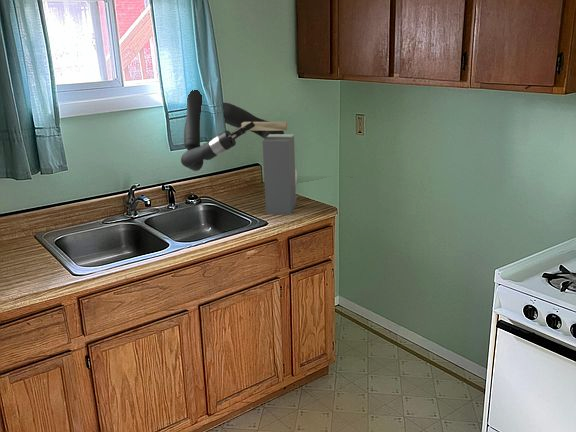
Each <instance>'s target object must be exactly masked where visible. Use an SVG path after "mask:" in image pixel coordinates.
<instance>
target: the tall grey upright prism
mask: <svg viewBox="0 0 576 432" xmlns="http://www.w3.org/2000/svg"><path fill="white" fill-rule="evenodd" d="M295 154H296V153H295V134H293V133H290V134H289V133H284V134H269V135H268V136H267V137H266V138H265V139H264V138H263V140H262V157H263V175H264V176H263V177H264V178H263V179H264V180H263V181H264V197H265V198H264V200H265V215H292V213H293V212H294V211H295V208H296V206H297V200H296V197H297V194H296V193H297V186H296V185H295V168H296V158H295Z"/></svg>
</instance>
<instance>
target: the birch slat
mask: <svg viewBox="0 0 576 432" xmlns="http://www.w3.org/2000/svg"><path fill="white" fill-rule="evenodd" d="M249 123H251V122H243V123H241V126H242V127H243V126H246V125H248V124H249ZM253 123H254V125H255V126H254V127H253V128H251V129H250V130H248V131H247V132H251V131H287V130H288V124H289V123H288V121H269V122H253Z"/></svg>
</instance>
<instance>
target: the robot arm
mask: <svg viewBox="0 0 576 432" xmlns="http://www.w3.org/2000/svg"><path fill="white" fill-rule="evenodd" d="M222 102H223V101H222ZM201 105H202V95H201V94H200V92H199V91H198V90H194V91H193V90H192V91H191V92H190V94H189V95H188V98H187V108H186V119H185V123H184V129H183V130H184V131H183V144H184V145H183V146H184V147H185V149H186V151H185V152H184V153H183V154H182V155H181V157H180V163H181V164H182V165H183V167H185V168H187V169H189V170H192V171H194V172H197V171H201V169H202V168H203V165H204V161H209V160H212V159H214V158H215V157H218V155H221V154H224V153H225V152H226V151H228V150H230V149H231V148H233V147H235V146H236V144H237V141H236V140H239V139H240V138H241V137H242V136H244V135H245V134H247V132H249V131H248V130H250V129H251V128H253V127H254V126H255V125H254V123H253V122H270V121H268V120H265V119H263V118H259V117H257V116H255V115H254V114H252V113H250V112H249V111H247V110H246V109H243V108H241V107H240V106H237V105H235V104H232V103H230V102H225V101H224V102H223V110H224V118H225V122H224V123H225V124H227V125H229V126H231V127H234V128H236V129H233V130H232V131H229V130H227V129H226V130H224V131H222V132H221V133H219V134H217V135H216V136H214V137H213V138H211V139H210V140H209V141H207V142H205V143H204V144H202V145H201V114H202V113H201ZM243 122H251V123H249V124H248V125H246V126H243V127H242V126H241V123H243ZM250 132H251V133H254V134H256V135H257V136H259V137H261V138H262V139H263V140H264V139H265V138H266V137H267V136H268V135H269V134H285V132H284V131H250Z"/></svg>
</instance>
